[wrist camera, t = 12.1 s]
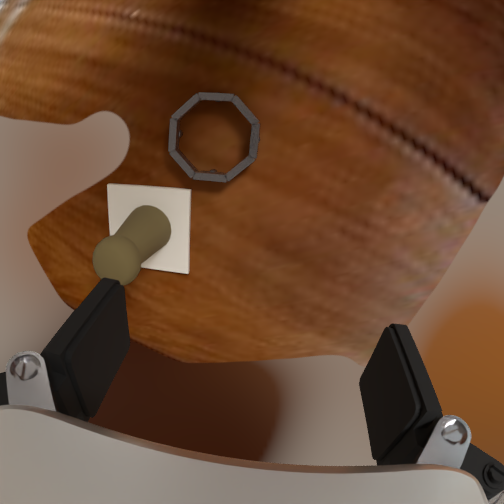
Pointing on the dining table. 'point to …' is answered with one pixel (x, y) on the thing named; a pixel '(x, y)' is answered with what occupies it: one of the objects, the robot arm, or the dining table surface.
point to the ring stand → (177, 133)
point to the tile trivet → (172, 205)
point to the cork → (132, 244)
